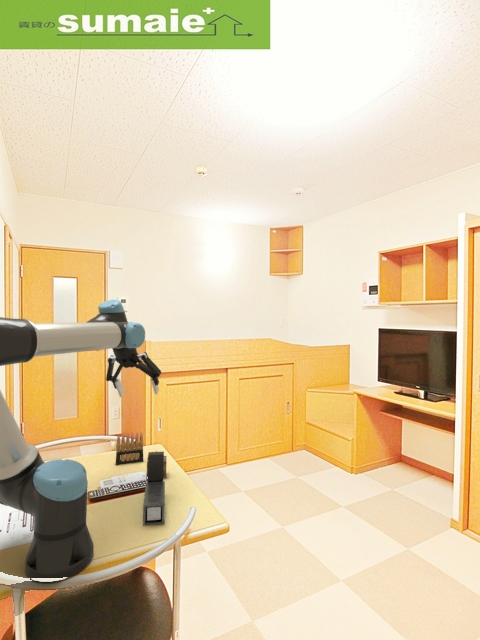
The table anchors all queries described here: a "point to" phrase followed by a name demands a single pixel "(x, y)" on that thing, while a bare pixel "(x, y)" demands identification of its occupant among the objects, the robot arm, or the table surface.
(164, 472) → the brown block
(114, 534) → the table surface
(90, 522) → the table surface
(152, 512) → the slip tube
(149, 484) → the sleeve
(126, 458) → the ammunition clip
